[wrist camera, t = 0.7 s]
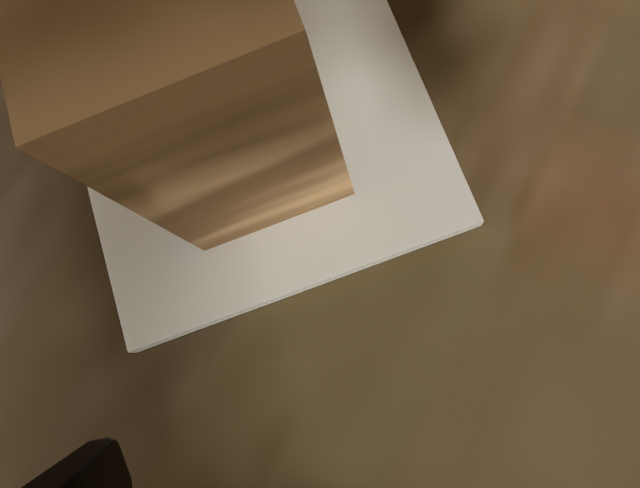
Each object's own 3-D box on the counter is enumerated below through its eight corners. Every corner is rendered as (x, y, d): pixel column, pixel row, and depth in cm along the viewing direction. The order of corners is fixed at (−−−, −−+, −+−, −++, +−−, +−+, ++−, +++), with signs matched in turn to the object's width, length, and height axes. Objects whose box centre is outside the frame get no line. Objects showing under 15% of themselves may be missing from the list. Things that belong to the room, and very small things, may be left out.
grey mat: (481, 225, 23) (483, 221, 22) (136, 352, 24) (127, 352, 23) (314, -156, 29) (311, -171, 28) (39, -38, 30) (29, -49, 29)
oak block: (354, 194, 23) (305, 29, 12) (204, 250, 24) (15, 147, 12) (324, 114, 24) (251, -111, 13) (180, 170, 25) (-16, 3, 13)
